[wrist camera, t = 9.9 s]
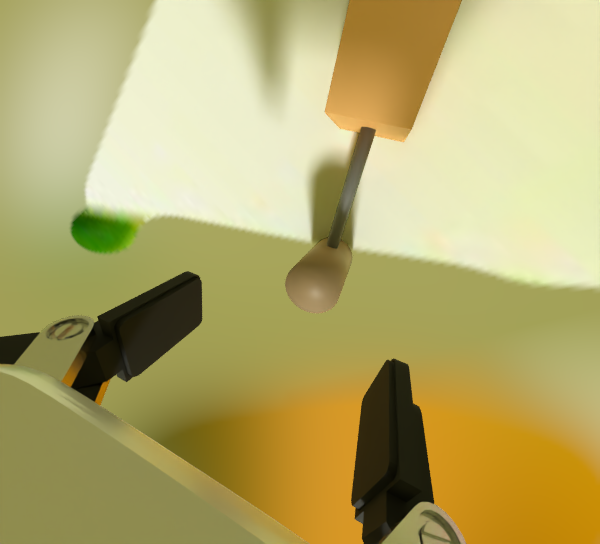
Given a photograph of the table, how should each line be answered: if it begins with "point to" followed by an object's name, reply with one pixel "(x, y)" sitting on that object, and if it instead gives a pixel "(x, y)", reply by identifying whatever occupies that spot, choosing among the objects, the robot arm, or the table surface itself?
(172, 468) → the robot arm
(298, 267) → the tan block with rod
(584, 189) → the table surface
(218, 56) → the table surface
